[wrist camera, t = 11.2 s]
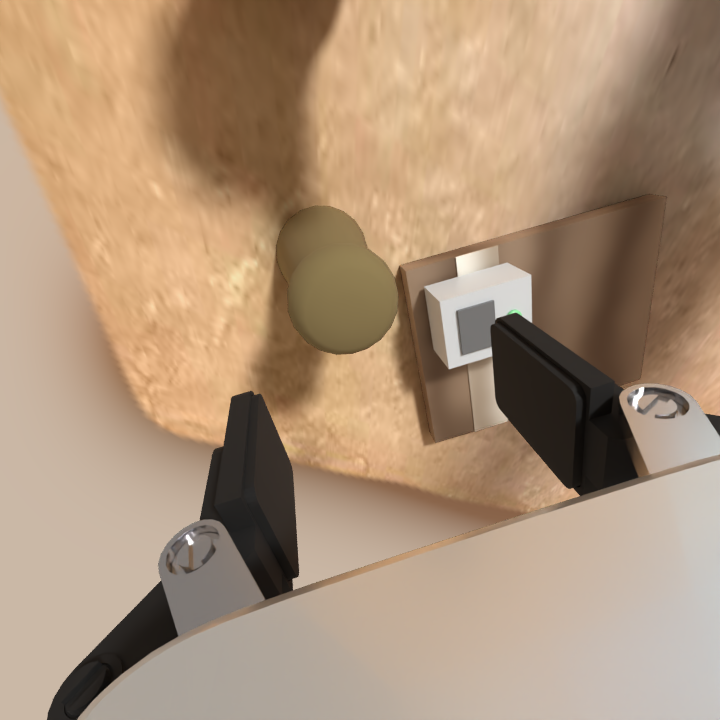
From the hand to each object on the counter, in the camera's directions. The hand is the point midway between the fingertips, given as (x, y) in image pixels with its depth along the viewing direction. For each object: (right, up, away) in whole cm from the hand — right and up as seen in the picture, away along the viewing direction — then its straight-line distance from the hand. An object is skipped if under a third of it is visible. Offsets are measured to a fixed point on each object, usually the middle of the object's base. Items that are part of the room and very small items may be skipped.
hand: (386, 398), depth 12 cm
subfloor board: (+13, +4, +21) cm, 25 cm away
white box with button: (+7, +5, +17) cm, 19 cm away
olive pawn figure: (-3, +8, +16) cm, 18 cm away
